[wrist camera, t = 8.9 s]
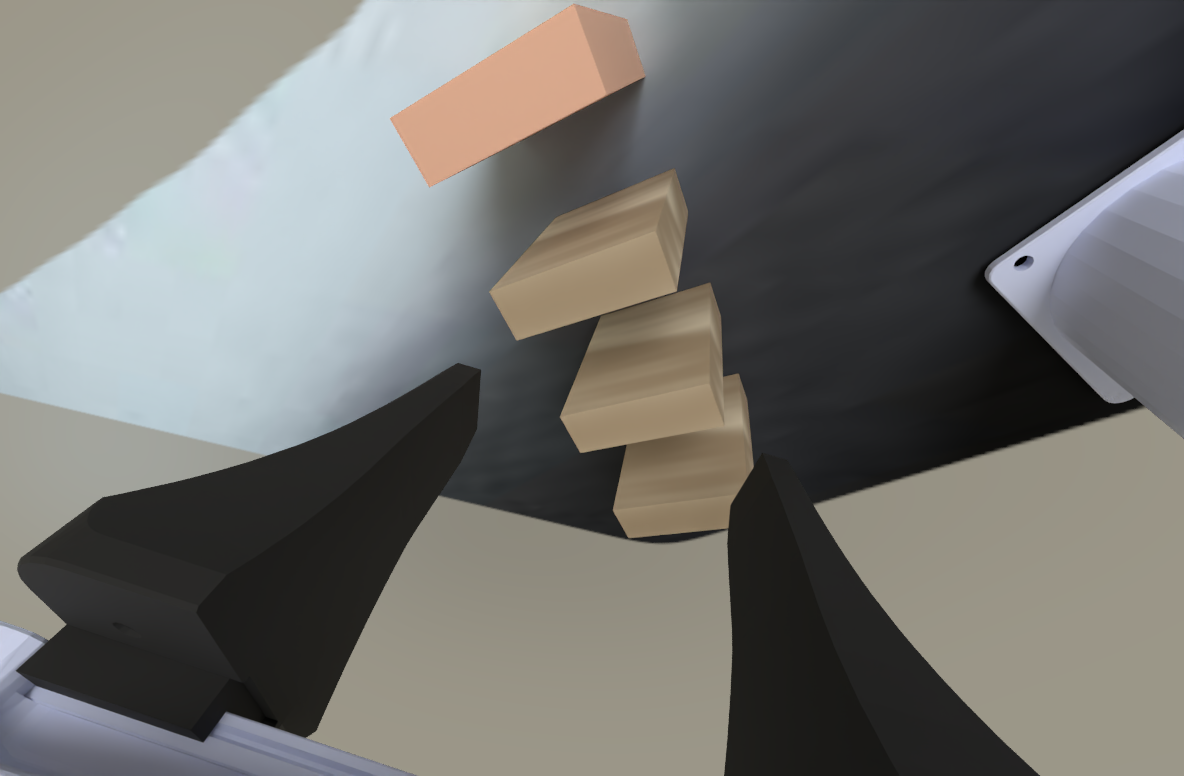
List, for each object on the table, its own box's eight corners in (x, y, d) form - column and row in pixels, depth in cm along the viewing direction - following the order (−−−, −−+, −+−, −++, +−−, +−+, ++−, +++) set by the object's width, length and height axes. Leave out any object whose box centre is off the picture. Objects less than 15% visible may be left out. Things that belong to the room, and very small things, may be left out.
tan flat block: (720, 317, 19) (724, 426, 14) (614, 346, 21) (580, 452, 16) (710, 282, 19) (709, 383, 13) (600, 315, 21) (559, 416, 15)
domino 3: (747, 401, 22) (759, 524, 16) (648, 421, 23) (628, 538, 18) (738, 373, 21) (747, 493, 15) (637, 396, 23) (612, 510, 17)
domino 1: (688, 212, 17) (677, 291, 12) (573, 254, 19) (516, 340, 14) (674, 168, 17) (655, 231, 11) (556, 217, 18) (489, 291, 13)
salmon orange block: (645, 76, 15) (607, 95, 10) (521, 140, 17) (429, 187, 12) (626, 19, 14) (573, 3, 9) (499, 93, 16) (389, 118, 11)
